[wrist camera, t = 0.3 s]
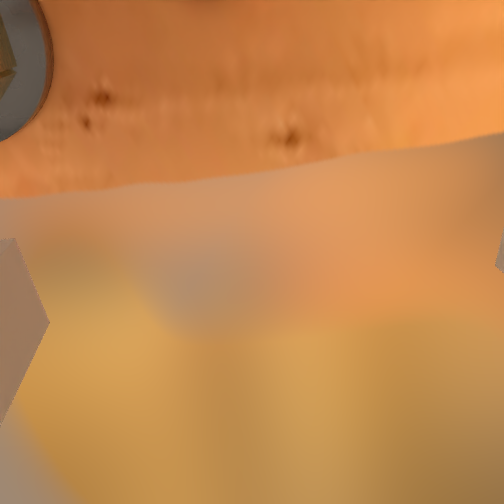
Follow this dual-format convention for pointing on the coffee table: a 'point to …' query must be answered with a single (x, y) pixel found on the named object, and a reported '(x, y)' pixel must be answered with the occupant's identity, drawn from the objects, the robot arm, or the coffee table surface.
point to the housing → (25, 64)
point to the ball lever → (5, 60)
